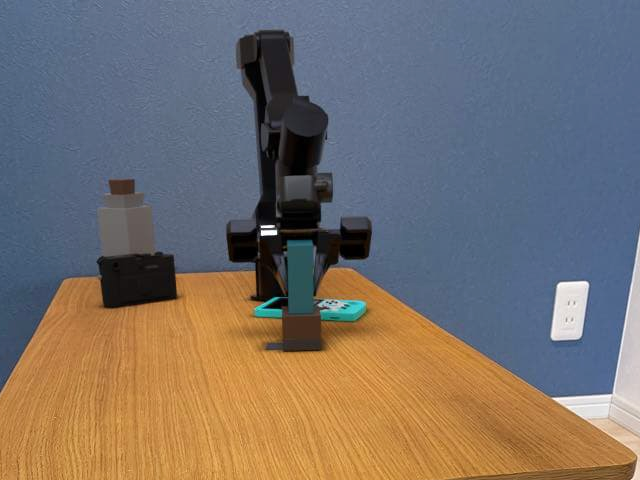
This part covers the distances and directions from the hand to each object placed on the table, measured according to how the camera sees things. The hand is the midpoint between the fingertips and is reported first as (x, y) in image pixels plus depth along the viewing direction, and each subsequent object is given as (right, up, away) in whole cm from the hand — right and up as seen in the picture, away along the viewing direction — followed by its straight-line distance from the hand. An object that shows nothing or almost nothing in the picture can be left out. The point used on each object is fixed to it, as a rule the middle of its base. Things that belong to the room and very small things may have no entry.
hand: (300, 294), depth 109 cm
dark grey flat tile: (-3, -6, +4) cm, 8 cm away
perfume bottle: (-31, +15, +48) cm, 59 cm away
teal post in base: (0, -5, +4) cm, 7 cm away
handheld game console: (+2, +4, +23) cm, 24 cm away
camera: (-27, +9, +35) cm, 45 cm away
